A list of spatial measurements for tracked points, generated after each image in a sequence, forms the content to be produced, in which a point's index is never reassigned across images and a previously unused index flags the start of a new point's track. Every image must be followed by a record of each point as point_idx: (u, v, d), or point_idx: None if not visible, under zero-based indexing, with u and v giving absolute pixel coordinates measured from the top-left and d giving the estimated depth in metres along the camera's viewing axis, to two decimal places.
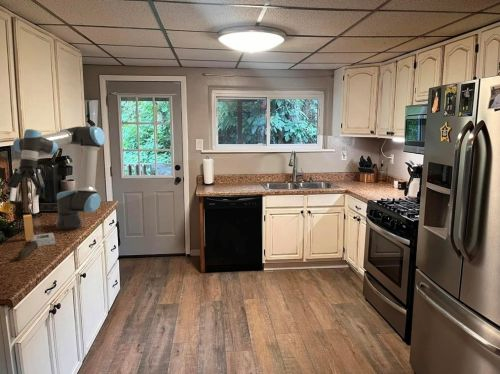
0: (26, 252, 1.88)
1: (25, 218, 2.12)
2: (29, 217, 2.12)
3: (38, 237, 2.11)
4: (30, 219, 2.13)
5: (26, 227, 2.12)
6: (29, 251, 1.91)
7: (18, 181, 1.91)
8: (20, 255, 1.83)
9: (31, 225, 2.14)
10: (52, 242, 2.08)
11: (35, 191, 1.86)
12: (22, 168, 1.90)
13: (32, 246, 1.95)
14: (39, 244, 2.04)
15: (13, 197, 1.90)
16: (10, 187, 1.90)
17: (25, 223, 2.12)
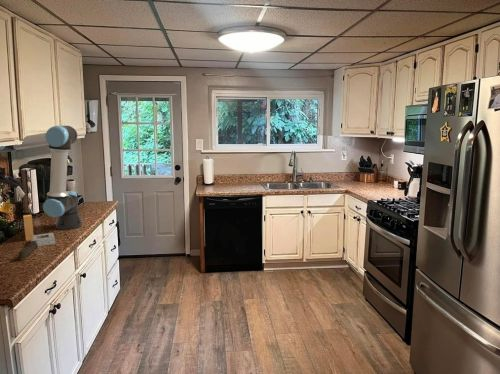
0: (26, 252, 1.88)
1: (25, 218, 2.12)
2: (29, 217, 2.12)
3: (38, 237, 2.11)
4: (30, 219, 2.13)
5: (26, 227, 2.12)
6: (29, 251, 1.91)
7: (10, 183, 2.21)
8: (21, 255, 1.83)
9: (31, 225, 2.14)
10: (52, 242, 2.08)
11: None
12: None
13: (32, 246, 1.95)
14: (39, 244, 2.04)
15: (21, 193, 2.22)
16: None
17: (25, 223, 2.12)
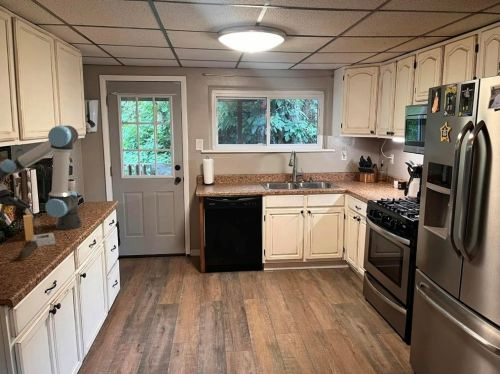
0: (27, 252, 1.88)
1: (25, 218, 2.12)
2: (29, 217, 2.12)
3: (38, 237, 2.11)
4: (30, 219, 2.13)
5: (26, 227, 2.12)
6: (30, 251, 1.91)
7: (19, 206, 2.21)
8: (21, 255, 1.83)
9: (31, 225, 2.14)
10: (52, 242, 2.08)
11: None
12: None
13: (32, 246, 1.95)
14: (39, 244, 2.04)
15: None
16: None
17: (25, 223, 2.12)
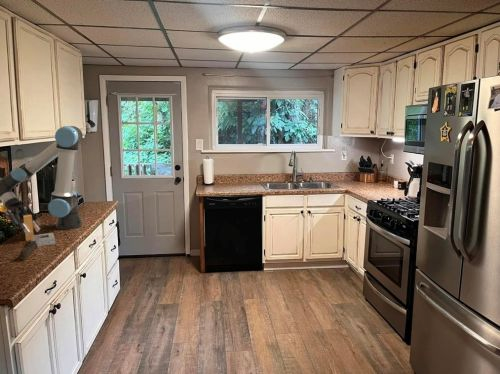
0: (28, 252, 1.88)
1: (25, 218, 2.12)
2: (29, 217, 2.12)
3: (38, 237, 2.11)
4: (30, 219, 2.13)
5: None
6: (30, 251, 1.91)
7: None
8: (23, 255, 1.83)
9: (31, 225, 2.14)
10: (52, 242, 2.08)
11: None
12: None
13: (32, 246, 1.95)
14: (39, 244, 2.04)
15: (36, 228, 2.17)
16: None
17: (25, 223, 2.12)
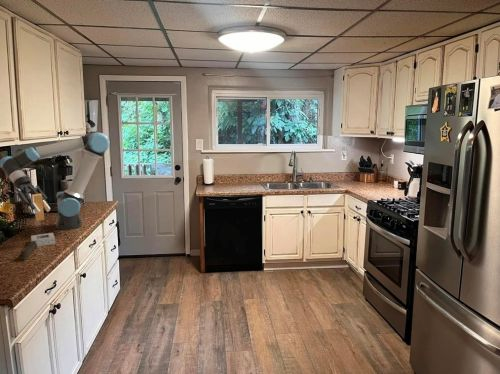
0: (28, 252, 1.88)
1: (35, 197, 2.03)
2: (39, 196, 2.04)
3: (38, 237, 2.11)
4: (40, 198, 2.05)
5: None
6: (30, 251, 1.91)
7: None
8: (24, 255, 1.83)
9: (41, 204, 2.05)
10: (52, 242, 2.08)
11: None
12: None
13: (32, 246, 1.95)
14: (39, 244, 2.04)
15: (46, 208, 2.08)
16: None
17: (35, 202, 2.04)
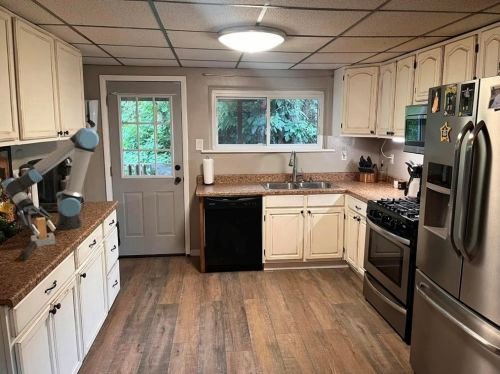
0: (29, 252, 1.88)
1: (39, 221, 2.06)
2: (43, 220, 2.07)
3: None
4: (44, 222, 2.07)
5: (40, 230, 2.07)
6: (31, 251, 1.92)
7: (41, 216, 2.13)
8: (25, 255, 1.83)
9: (45, 228, 2.08)
10: (52, 242, 2.08)
11: None
12: None
13: (32, 246, 1.96)
14: (39, 244, 2.04)
15: (52, 227, 2.12)
16: None
17: (39, 226, 2.06)
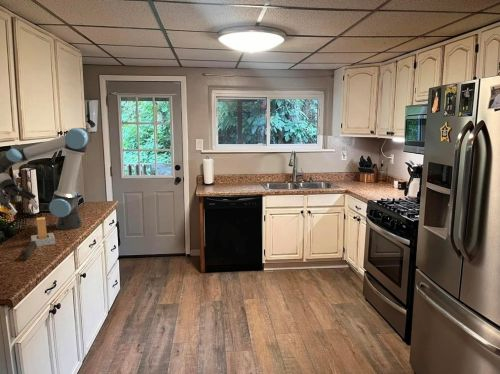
0: (30, 252, 1.88)
1: (39, 221, 2.06)
2: (43, 220, 2.07)
3: None
4: (44, 222, 2.07)
5: (40, 230, 2.07)
6: (31, 251, 1.92)
7: (24, 196, 2.17)
8: (26, 254, 1.83)
9: (45, 228, 2.08)
10: (52, 242, 2.08)
11: None
12: None
13: (33, 246, 1.96)
14: (39, 244, 2.04)
15: (35, 205, 2.17)
16: None
17: (39, 226, 2.06)
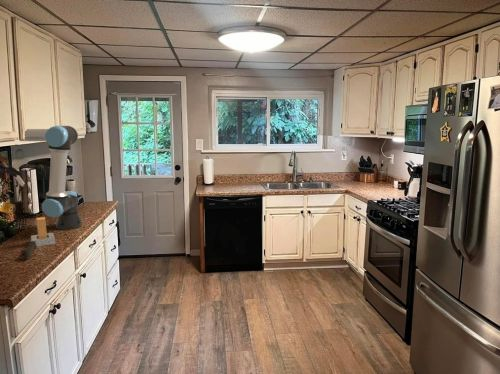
0: (30, 251, 1.88)
1: (39, 221, 2.06)
2: (43, 220, 2.07)
3: None
4: (44, 222, 2.07)
5: (40, 230, 2.07)
6: (32, 251, 1.92)
7: (10, 173, 2.22)
8: (27, 254, 1.84)
9: (45, 228, 2.08)
10: (52, 242, 2.08)
11: None
12: None
13: (33, 246, 1.96)
14: (39, 244, 2.04)
15: (21, 182, 2.22)
16: None
17: (39, 226, 2.06)
